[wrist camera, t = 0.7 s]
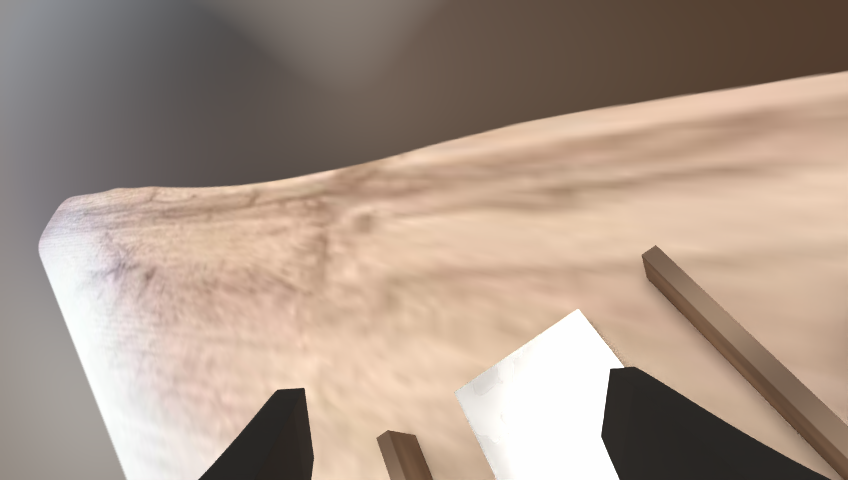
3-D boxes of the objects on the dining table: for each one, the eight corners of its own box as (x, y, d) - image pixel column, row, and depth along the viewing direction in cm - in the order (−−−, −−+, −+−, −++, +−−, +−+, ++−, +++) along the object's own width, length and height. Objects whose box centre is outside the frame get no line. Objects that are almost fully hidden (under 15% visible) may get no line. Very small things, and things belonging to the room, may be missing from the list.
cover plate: (697, 464, 20) (698, 462, 18) (549, 551, 21) (534, 557, 19) (586, 322, 25) (577, 308, 23) (471, 399, 26) (454, 392, 24)
